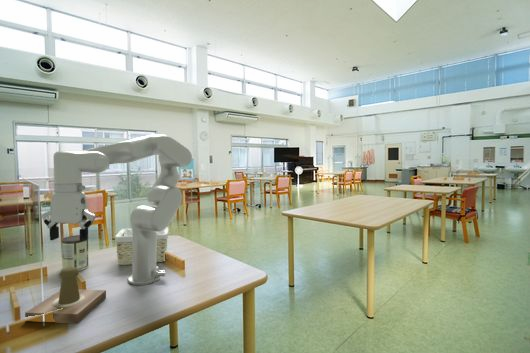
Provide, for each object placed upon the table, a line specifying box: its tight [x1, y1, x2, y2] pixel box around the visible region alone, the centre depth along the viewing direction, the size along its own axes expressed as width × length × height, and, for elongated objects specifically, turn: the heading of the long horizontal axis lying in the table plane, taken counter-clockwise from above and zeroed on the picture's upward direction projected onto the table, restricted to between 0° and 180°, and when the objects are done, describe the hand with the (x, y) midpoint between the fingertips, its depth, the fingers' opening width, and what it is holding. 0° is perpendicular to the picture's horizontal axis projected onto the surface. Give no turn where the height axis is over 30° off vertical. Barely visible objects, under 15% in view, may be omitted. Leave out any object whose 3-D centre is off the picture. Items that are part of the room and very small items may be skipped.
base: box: [24, 288, 107, 324], centre depth 95 cm, size 16×16×3 cm
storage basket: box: [114, 226, 170, 266], centre depth 143 cm, size 24×16×15 cm
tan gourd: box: [58, 267, 80, 305], centre depth 94 cm, size 6×6×11 cm
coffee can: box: [61, 234, 89, 272], centre depth 129 cm, size 10×10×14 cm
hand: (69, 239), depth 93 cm, fingers open, 9 cm apart
